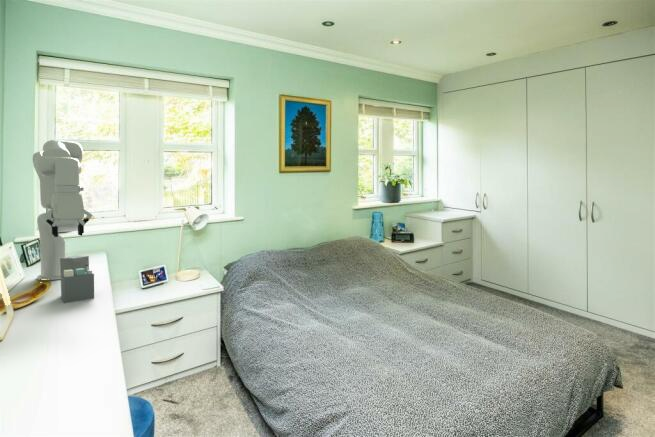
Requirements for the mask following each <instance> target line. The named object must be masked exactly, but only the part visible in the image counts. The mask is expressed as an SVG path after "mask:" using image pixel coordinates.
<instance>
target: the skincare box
mask: <svg viewBox="0 0 655 437" xmlns="http://www.w3.org/2000/svg"><path fill="white" fill-rule="evenodd" d="M89 257H90V256H89V255H72V256H71V255H70V256H69V255H68V256H65V257H64V258H60V270H61V275H64V270H70V269H72V270H74V274H75V269H79V268H84V269H85V272H87V269H86V264H88V270H90V260H89V259H90V258H89Z"/></svg>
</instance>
